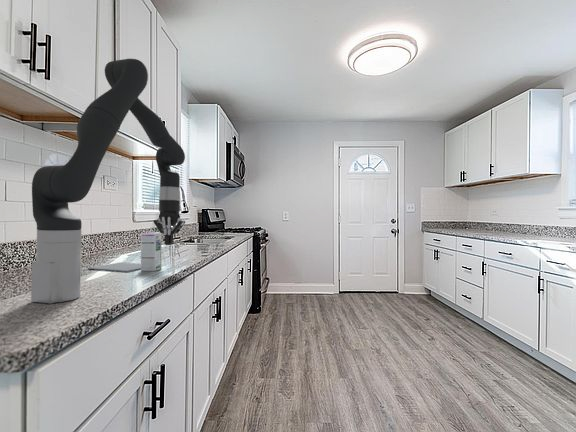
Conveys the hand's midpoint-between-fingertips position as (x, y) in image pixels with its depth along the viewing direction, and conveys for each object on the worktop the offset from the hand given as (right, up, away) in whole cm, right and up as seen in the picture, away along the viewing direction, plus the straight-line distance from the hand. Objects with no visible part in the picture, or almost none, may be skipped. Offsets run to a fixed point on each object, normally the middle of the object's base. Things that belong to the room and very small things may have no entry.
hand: (168, 244), depth 127 cm
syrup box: (-8, -10, +2) cm, 13 cm away
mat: (-20, -10, +6) cm, 23 cm away
